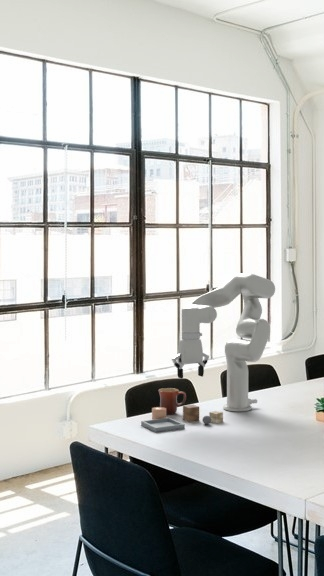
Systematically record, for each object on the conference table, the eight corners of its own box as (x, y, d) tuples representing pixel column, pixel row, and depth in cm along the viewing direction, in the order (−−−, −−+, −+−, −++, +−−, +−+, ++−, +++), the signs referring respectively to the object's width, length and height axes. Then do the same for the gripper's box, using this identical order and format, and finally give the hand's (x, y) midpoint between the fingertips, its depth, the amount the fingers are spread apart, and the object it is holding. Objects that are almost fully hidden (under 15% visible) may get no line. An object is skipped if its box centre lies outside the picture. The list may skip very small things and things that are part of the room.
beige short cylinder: (162, 418, 305) (162, 406, 305) (168, 421, 300) (168, 409, 300) (149, 419, 303) (149, 408, 302) (156, 422, 297) (156, 410, 297)
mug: (157, 415, 311) (157, 391, 310) (159, 410, 319) (159, 387, 319) (185, 415, 309) (185, 392, 309) (186, 411, 318) (186, 388, 318)
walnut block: (193, 418, 305) (193, 404, 304) (199, 420, 300) (199, 406, 300) (183, 419, 302) (183, 405, 302) (188, 422, 298) (188, 407, 298)
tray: (169, 421, 298) (169, 417, 298) (184, 428, 287) (184, 424, 287) (141, 425, 292) (141, 420, 292) (155, 432, 281) (155, 427, 281)
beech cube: (216, 420, 302) (216, 410, 301) (223, 421, 299) (223, 412, 299) (209, 421, 299) (209, 412, 299) (216, 423, 296) (216, 413, 296)
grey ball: (208, 423, 296) (208, 414, 296) (212, 424, 293) (212, 416, 293) (200, 423, 295) (200, 415, 294) (205, 425, 291) (205, 417, 291)
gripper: (204, 334, 307) (204, 374, 308) (168, 336, 299) (168, 377, 300) (213, 336, 300) (213, 376, 301) (176, 338, 292) (176, 380, 293)
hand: (190, 377), depth 301 cm, fingers open, 9 cm apart
